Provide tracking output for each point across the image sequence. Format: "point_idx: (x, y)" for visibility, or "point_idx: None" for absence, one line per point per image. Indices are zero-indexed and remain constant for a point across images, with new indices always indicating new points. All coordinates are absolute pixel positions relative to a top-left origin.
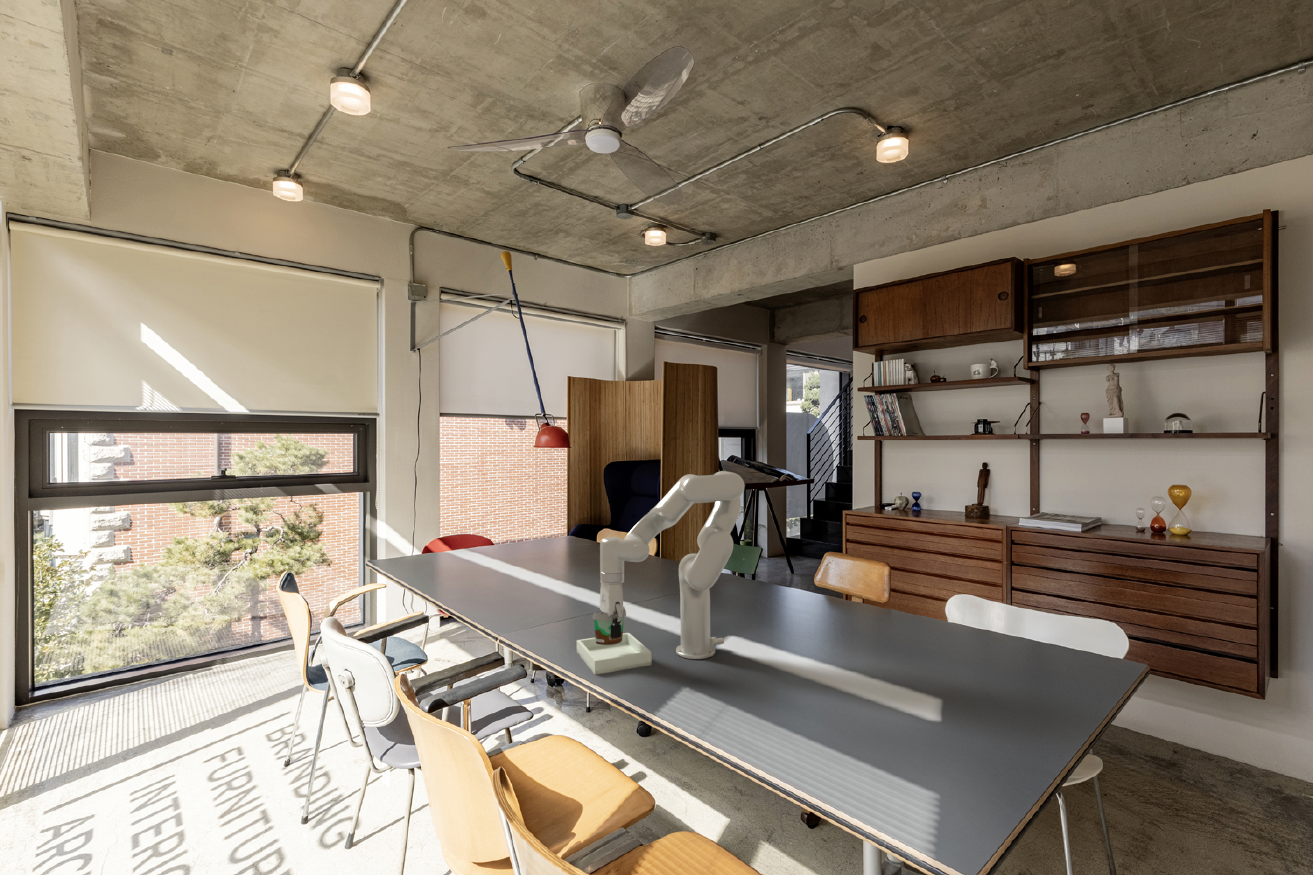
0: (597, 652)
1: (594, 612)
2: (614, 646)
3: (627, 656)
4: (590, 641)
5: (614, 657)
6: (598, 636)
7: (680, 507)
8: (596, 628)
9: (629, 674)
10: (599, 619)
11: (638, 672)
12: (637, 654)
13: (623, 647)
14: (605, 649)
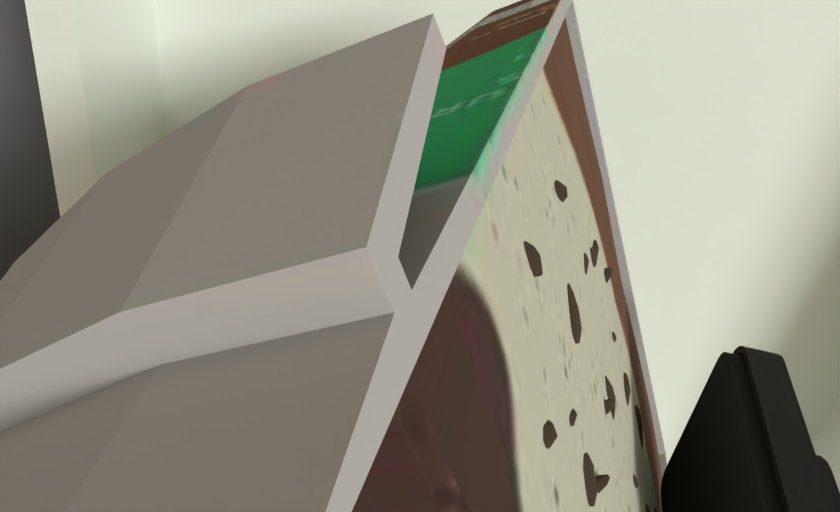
0: (776, 72)
1: (211, 497)
2: (791, 358)
3: (66, 197)
4: None
5: (45, 24)
6: (456, 45)
7: None
8: (457, 70)
9: (8, 73)
10: (20, 264)
11: (36, 173)
12: None
13: (675, 406)
14: (791, 223)
